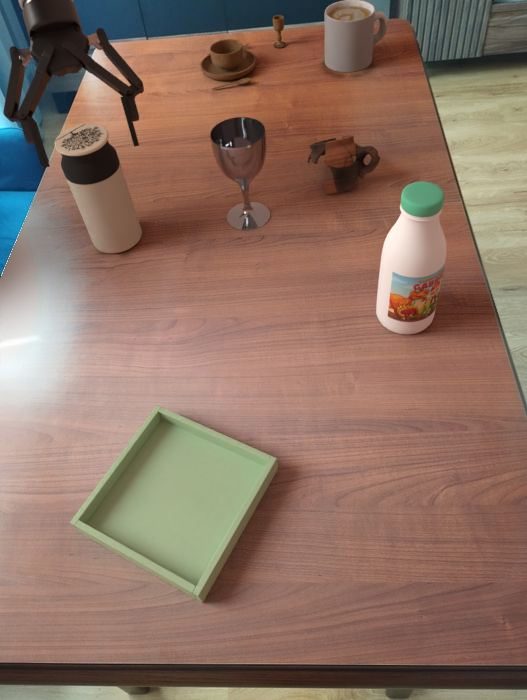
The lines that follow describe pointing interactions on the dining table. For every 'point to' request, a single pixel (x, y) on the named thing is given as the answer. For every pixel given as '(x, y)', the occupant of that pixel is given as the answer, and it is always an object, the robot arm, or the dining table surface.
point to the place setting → (235, 58)
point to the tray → (177, 500)
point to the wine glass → (242, 165)
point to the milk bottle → (412, 261)
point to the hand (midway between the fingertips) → (91, 154)
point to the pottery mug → (343, 162)
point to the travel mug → (99, 187)
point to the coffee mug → (351, 34)
